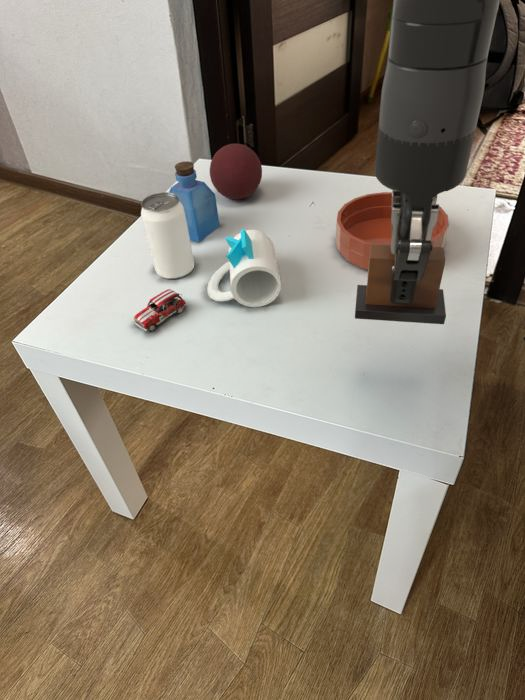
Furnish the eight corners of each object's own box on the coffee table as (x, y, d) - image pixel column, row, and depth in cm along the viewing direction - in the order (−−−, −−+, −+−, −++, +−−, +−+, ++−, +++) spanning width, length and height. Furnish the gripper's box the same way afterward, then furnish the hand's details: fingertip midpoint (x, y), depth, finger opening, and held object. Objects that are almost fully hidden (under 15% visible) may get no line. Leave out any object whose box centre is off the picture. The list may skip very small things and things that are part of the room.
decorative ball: (265, 184, 101) (262, 134, 94) (261, 208, 94) (257, 156, 87) (217, 185, 102) (210, 135, 95) (209, 209, 95) (201, 158, 88)
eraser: (441, 297, 54) (453, 241, 49) (444, 324, 50) (457, 267, 46) (356, 293, 55) (360, 238, 50) (354, 318, 52) (358, 263, 47)
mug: (253, 204, 74) (260, 247, 66) (280, 249, 80) (289, 294, 72) (187, 238, 77) (185, 284, 69) (217, 279, 83) (219, 326, 75)
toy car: (133, 325, 72) (127, 308, 69) (176, 298, 75) (172, 281, 73) (148, 336, 70) (142, 319, 67) (191, 308, 74) (188, 291, 71)
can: (203, 266, 81) (190, 198, 73) (172, 285, 78) (156, 216, 70) (177, 253, 85) (163, 186, 76) (147, 270, 81) (129, 203, 73)
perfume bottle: (198, 242, 86) (186, 176, 78) (171, 234, 89) (157, 169, 81) (219, 226, 90) (210, 161, 82) (193, 218, 93) (181, 154, 84)
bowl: (439, 220, 87) (444, 193, 83) (446, 278, 75) (452, 250, 71) (340, 216, 90) (341, 190, 86) (331, 272, 78) (332, 245, 74)
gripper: (488, 157, 34) (443, 341, 46) (468, 90, 44) (434, 256, 56) (376, 156, 35) (360, 335, 47) (380, 92, 45) (366, 254, 57)
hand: (401, 292), depth 51 cm, fingers closed on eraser, 2 cm apart
